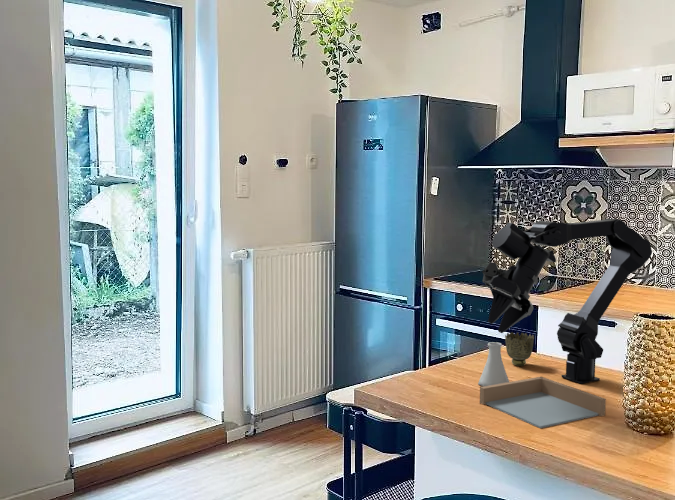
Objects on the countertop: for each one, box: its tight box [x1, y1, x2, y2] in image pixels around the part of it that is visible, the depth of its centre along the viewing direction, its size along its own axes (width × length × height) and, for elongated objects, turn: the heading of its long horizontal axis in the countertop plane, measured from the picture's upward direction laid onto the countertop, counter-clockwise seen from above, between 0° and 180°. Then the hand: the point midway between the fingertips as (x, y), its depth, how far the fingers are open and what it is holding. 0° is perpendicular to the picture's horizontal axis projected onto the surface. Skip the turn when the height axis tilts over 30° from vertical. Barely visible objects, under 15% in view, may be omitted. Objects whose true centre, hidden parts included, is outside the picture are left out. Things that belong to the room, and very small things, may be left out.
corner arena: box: [479, 376, 607, 429], centre depth 135 cm, size 18×18×4 cm
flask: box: [477, 341, 510, 387], centre depth 152 cm, size 7×7×10 cm
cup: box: [504, 331, 535, 367], centre depth 170 cm, size 8×7×8 cm
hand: (495, 327), depth 149 cm, fingers open, 9 cm apart
